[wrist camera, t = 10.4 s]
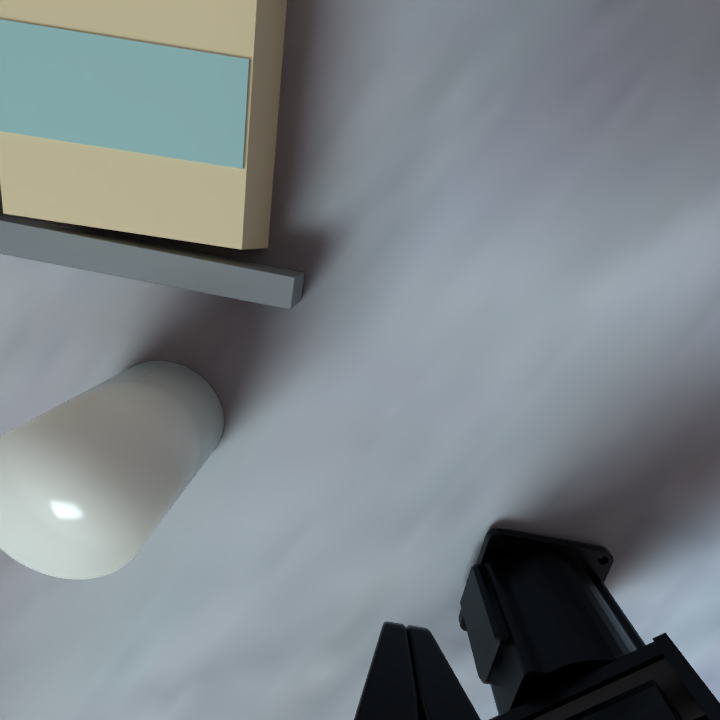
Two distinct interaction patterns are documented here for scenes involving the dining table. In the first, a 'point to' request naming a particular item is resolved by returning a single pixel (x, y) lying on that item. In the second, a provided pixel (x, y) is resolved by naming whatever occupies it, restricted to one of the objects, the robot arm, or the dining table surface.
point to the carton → (142, 115)
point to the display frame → (149, 262)
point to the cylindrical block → (104, 469)
